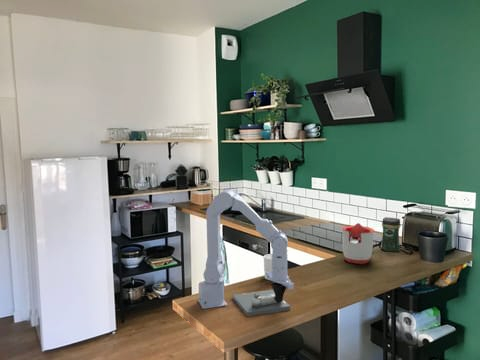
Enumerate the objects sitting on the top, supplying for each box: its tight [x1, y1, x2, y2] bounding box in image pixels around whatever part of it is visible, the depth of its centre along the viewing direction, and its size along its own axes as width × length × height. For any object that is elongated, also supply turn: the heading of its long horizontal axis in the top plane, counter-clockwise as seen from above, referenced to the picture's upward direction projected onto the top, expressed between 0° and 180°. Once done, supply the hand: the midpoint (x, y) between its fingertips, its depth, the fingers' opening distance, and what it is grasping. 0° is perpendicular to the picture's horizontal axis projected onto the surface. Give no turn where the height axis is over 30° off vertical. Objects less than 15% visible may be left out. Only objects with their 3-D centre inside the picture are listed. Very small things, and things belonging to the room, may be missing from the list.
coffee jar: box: [380, 216, 401, 253], centre depth 222 cm, size 10×8×19 cm
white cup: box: [263, 253, 272, 281], centre depth 177 cm, size 8×8×10 cm
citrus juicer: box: [341, 222, 375, 265], centre depth 201 cm, size 16×17×20 cm
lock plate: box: [232, 289, 291, 317], centre depth 149 cm, size 17×16×6 cm
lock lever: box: [252, 294, 277, 308], centre depth 145 cm, size 12×4×3 cm, turn 116°
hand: (279, 301), depth 146 cm, fingers closed
